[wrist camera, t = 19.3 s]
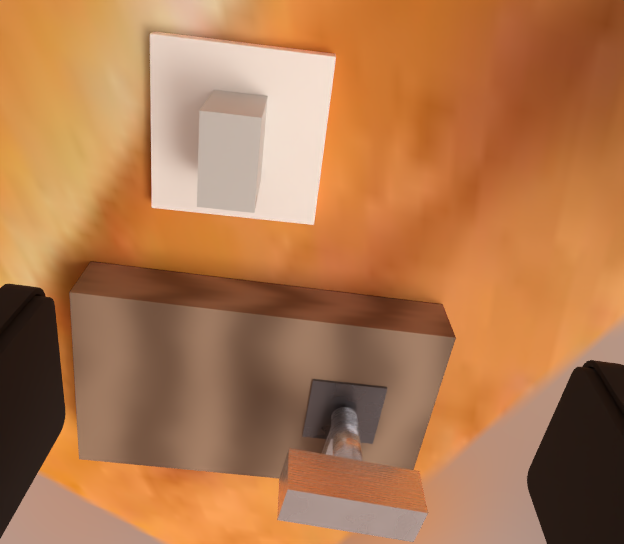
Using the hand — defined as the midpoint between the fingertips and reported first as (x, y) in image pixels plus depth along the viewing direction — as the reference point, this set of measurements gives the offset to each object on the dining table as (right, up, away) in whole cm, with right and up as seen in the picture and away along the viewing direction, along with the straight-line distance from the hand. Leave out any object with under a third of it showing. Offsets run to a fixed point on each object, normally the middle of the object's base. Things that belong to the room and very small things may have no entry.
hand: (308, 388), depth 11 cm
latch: (+2, -10, +30) cm, 32 cm away
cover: (-4, +11, +25) cm, 27 cm away
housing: (-4, -5, +32) cm, 33 cm away
